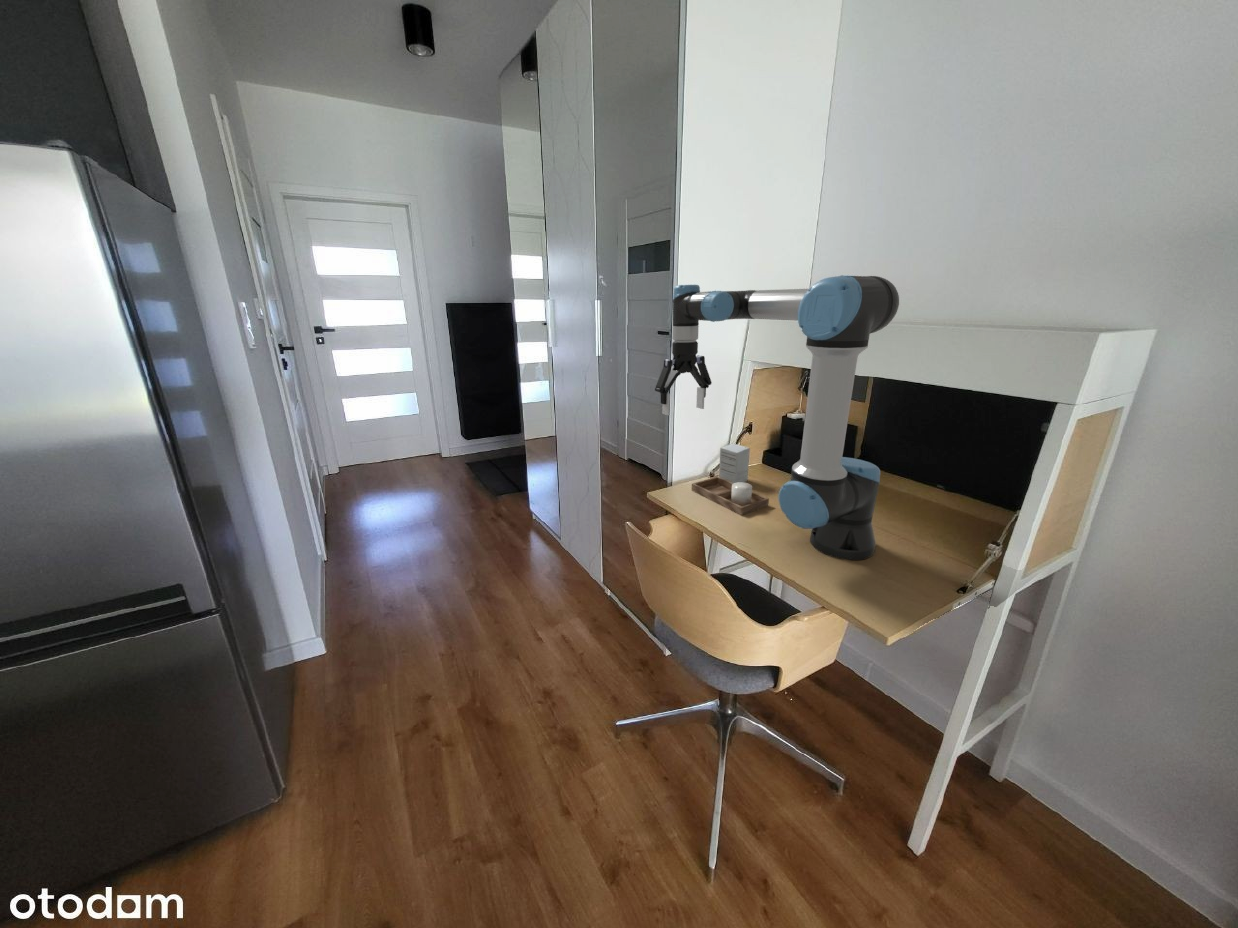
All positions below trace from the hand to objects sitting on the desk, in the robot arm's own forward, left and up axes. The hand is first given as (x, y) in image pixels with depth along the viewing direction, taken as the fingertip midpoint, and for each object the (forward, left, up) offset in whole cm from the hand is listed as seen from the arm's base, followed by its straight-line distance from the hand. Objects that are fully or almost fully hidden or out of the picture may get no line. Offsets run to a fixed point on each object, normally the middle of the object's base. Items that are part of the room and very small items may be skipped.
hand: (683, 411), depth 142 cm
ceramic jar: (-18, -9, -27) cm, 34 cm away
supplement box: (-2, -21, -28) cm, 35 cm away
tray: (-12, -9, -28) cm, 32 cm away
